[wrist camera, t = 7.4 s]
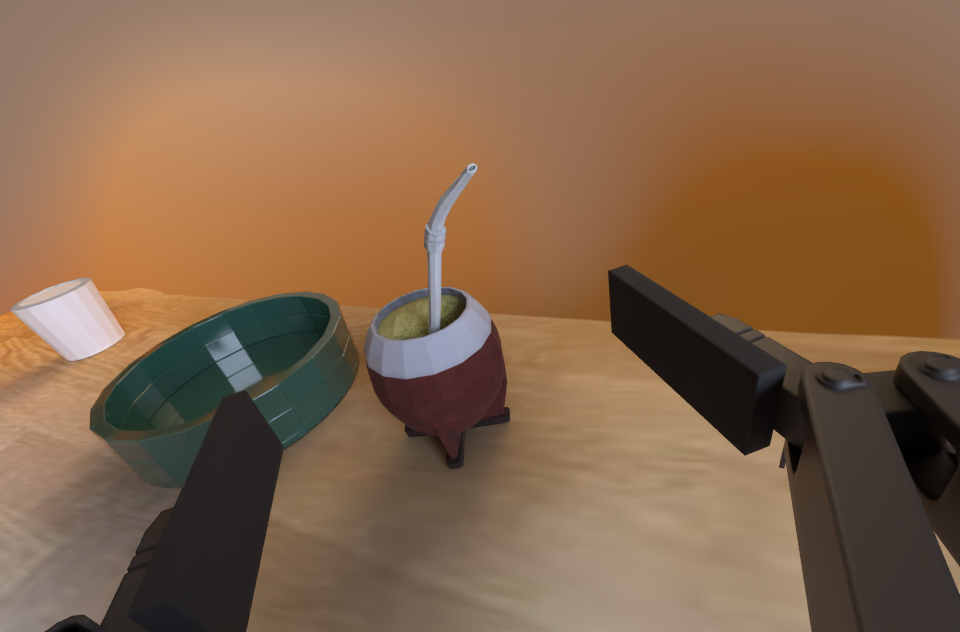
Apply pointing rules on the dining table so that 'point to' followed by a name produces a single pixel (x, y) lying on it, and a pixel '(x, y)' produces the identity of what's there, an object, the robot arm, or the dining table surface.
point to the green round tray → (227, 381)
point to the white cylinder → (71, 319)
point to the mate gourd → (438, 352)
